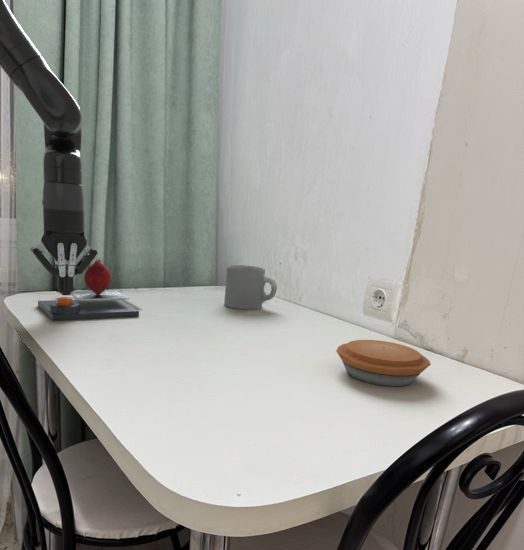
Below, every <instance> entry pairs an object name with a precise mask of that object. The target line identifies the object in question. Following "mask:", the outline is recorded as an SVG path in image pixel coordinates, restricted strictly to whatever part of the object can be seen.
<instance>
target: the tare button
mask: <svg viewBox="0 0 524 550" xmlns="http://www.w3.org/2000/svg"><path fill="white" fill-rule="evenodd" d="M56 300H57V304H58V305H60V306H70V305H72V300H73V298H72V297H69V296H59V297H57V298H56Z"/></svg>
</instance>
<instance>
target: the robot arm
mask: <svg viewBox="0 0 524 550" xmlns="http://www.w3.org/2000/svg"><path fill="white" fill-rule="evenodd" d="M0 68H1V69H2V70H3V72H4V73H5V74H6V76H7V77H8V78H9V80H10V81H11V83H13V85H14V86H15V87H16V88H17V89H18V90H19V91H21V93H22V94H23V95H24V97H25V98H26V100H27V101H28V103H29V104H30V105H31V107H32V108H33V110H34V111H35V113H36V114H37V115H38V117H39V119H40V120H41V121H42V123H43V136H44V137H43V138H44V153H43V161H42V166H43V171H42V173H43V187H42V201H41V203H42V211H43V212H42V215H43V216H42V217H43V235H42V237H41V239H40V241H41V242H40V243H38V244H37V245H36V246H31V247H30V249H29V251H30V252H31V254H32V255H33V256H34V257H35V258H36V259H37V260H38V262H39V263H40V264H41V265H42V266H43V267H44V269H45V270H46V271H47V272H49V273H50V274H51V275H55V276H56V289H57V291H58V292H59V293H60V294H61V296H71V295H70V294H71V292H73V291H74V277H75V276H76V275H81V274H83V273H84V271H86V270H87V269H88V267H89V266H90V265H91V263H92V261H93V260H94V259H95V258H96V256H97V255H98V251H97V250H96V249H94V248H93V247H91V246H90V245H89V244H88V240H87V239H86V235H85V194H84V185H83V184H84V183H83V175H84V173H83V160H82V135H83V132H82V131H83V113H82V109H81V108H80V105H79V104H78V103H77V101H76V100H75V98H74V97H73V95H72V94H71V93H70V92H69V90H68V89H67V88H66V87H65V86H64V84H63V83H62V82H61V81H60V79H59V78H58V77H57V76H56V75H55V73H54V72H53V71H52V70H51V68H50V66H49V65H48V63H47V61H46V60H45V58H44V57H43V56H42V54H41V53H40V51H39V50H38V49H37V47H36V45H34V43H33V42H32V40H31V39H30V37H29V36H28V35H27V34H26V32H25V30H23V28H22V26H21V24H20V23H19V22H18V21H17V19H16V17H15V16H14V14H13V12H12V11H11V9H10V8H9V5H8V4H7V3H6V0H0ZM46 252H47V253H49V254H50V256H51V257H52V258H53V259H54V265H55V267H54V266H53V264H52V263H51V262H50V260H48V259H47V257H46V255H47V253H46ZM81 253H82V254H83V255H82V257H81V258H80V260H79V261H78V262H77V259H78V258H79V256H80V255H81Z"/></svg>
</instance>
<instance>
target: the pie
mask: <svg viewBox="0 0 524 550" xmlns="http://www.w3.org/2000/svg"><path fill="white" fill-rule="evenodd" d="M335 351H336V353H337V355H338V356H339V359H340V360H341V362H342V364H343V366H344V369H345V371H346V372H347V374H348V375H350V376H351V377H353V378H354V379H356V380H358V381H362V382H364V383H367V384H371V385H376V386H384V387H404V386H407V385H411V384H412V383H413V382H414V381H415V380H416V379H417V378H418V377H419V376H420V375H421V374H422V373H423V372H424V371H425V370H427V368H429V367H430V366H431V362H430V359H428V358H427V357H426V356H425V355H424V354H423V355H422V353H420V352H419V351H418V350H416V349H414V348H412V347H410V346H408V345H407V346H406V345H404V344H400V343H396V342H391V341H386V340H377V339H356V340H351V341H349V342H346V343H342V344H340V345H339V346H337V348H336V350H335Z"/></svg>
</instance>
